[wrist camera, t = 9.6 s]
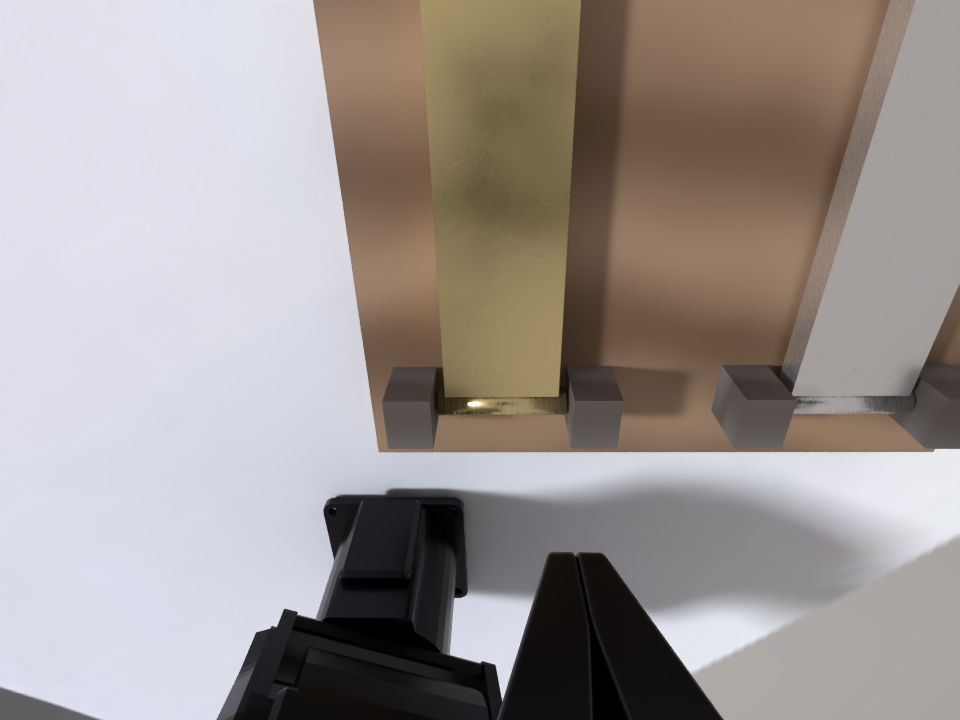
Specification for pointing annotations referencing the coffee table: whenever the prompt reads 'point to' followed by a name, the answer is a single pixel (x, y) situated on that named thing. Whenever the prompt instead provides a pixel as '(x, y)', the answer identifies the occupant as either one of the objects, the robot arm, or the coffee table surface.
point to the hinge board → (634, 228)
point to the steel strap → (887, 227)
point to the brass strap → (501, 196)
